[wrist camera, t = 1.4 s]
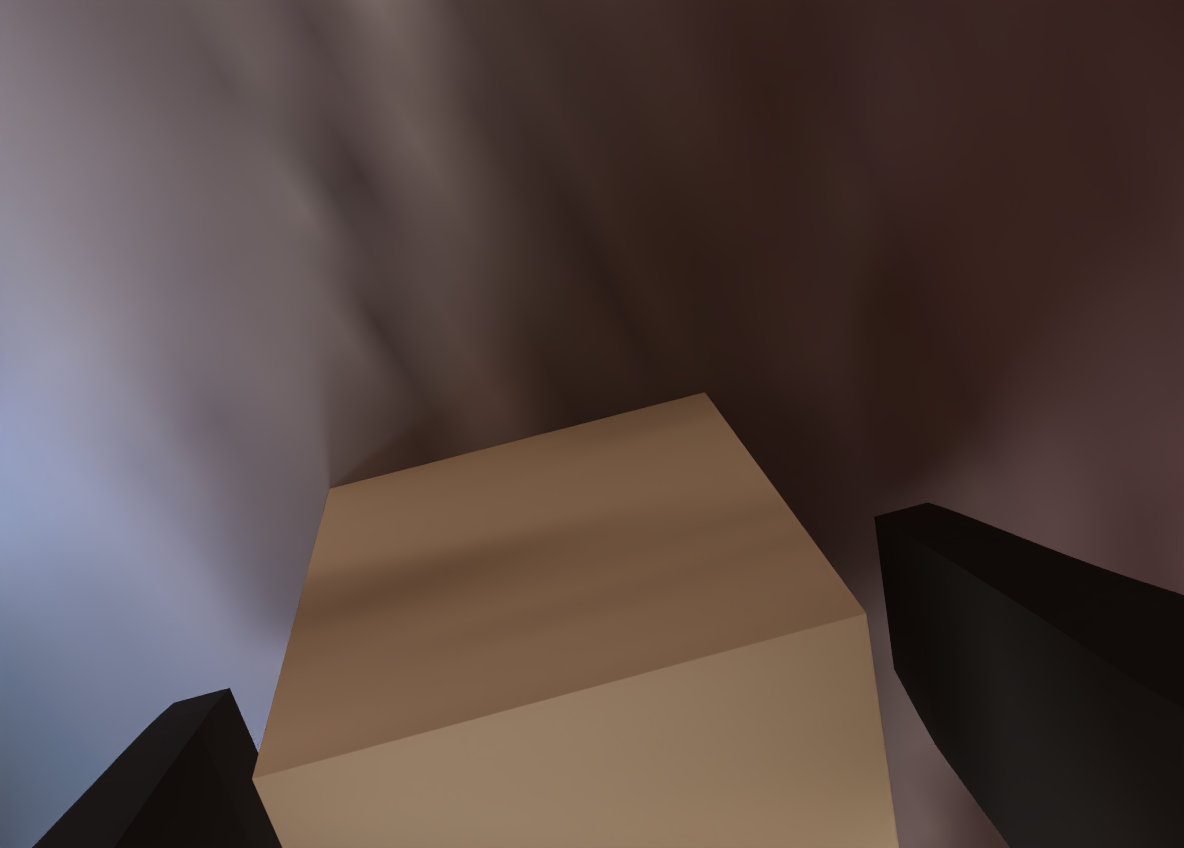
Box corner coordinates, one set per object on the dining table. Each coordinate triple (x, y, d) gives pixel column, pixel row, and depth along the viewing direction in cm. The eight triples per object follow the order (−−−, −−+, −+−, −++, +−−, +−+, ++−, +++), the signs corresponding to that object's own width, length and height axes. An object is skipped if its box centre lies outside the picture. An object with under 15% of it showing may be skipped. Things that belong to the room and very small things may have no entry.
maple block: (762, 697, 14) (925, 1037, 9) (436, 785, 13) (429, 1179, 9) (704, 390, 12) (866, 613, 7) (329, 487, 12) (252, 779, 7)
